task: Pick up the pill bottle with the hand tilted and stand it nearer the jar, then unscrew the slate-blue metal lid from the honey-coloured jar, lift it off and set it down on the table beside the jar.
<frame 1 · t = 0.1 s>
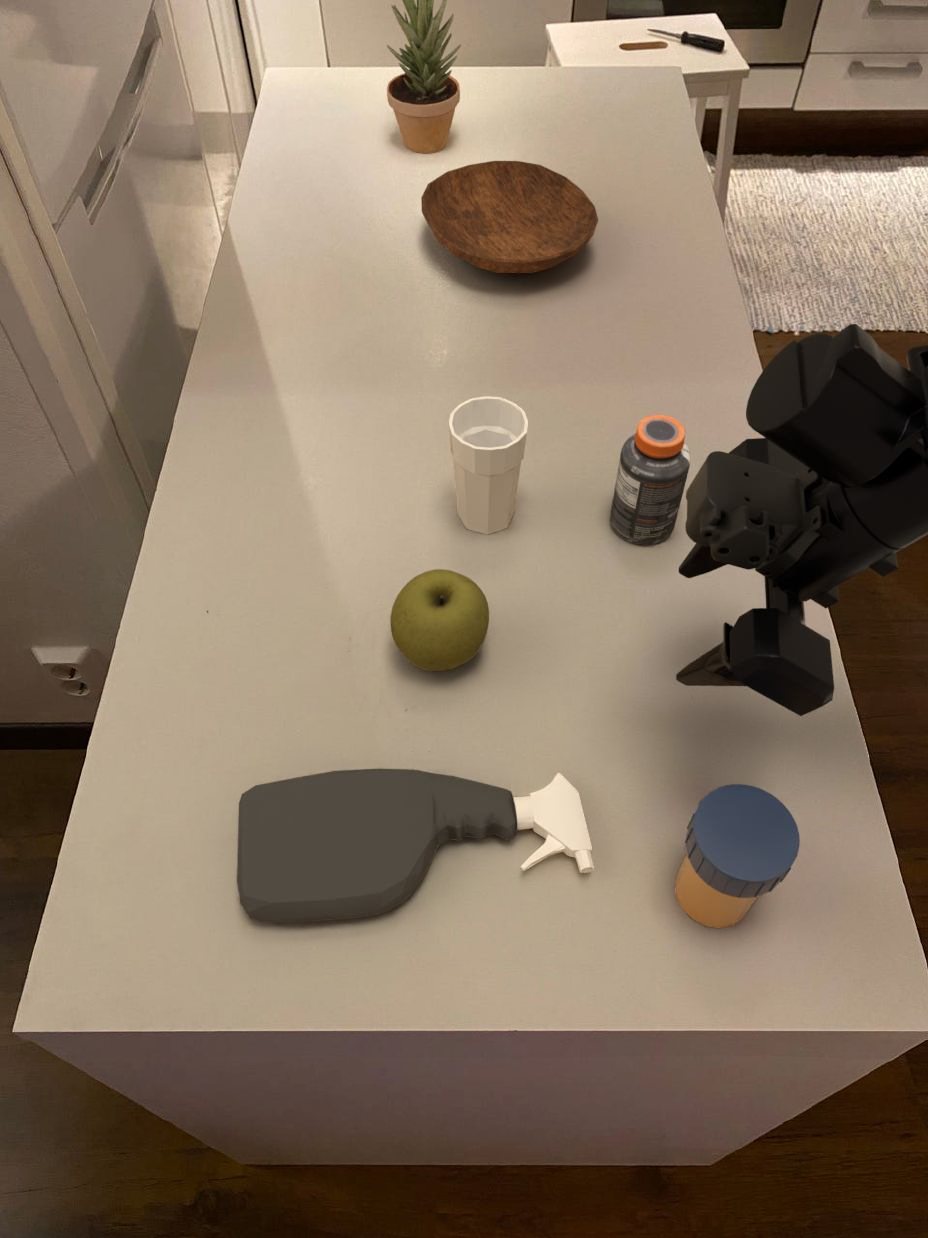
hand: (681, 625, 65), 12 cm above the counter, tool tilted 35°, fingers open, 9 cm apart
cup: (485, 514, 88), on the counter
jar lid: (745, 833, 58), point 10 cm above the counter, screwed on, not yet turned
potted plant: (426, 144, 129), on the counter
bowl: (506, 248, 114), on the counter
apple: (440, 650, 79), on the counter
jar: (712, 891, 66), on the counter
spray bottle: (415, 843, 68), on the counter
pill bottle: (641, 524, 87), on the counter
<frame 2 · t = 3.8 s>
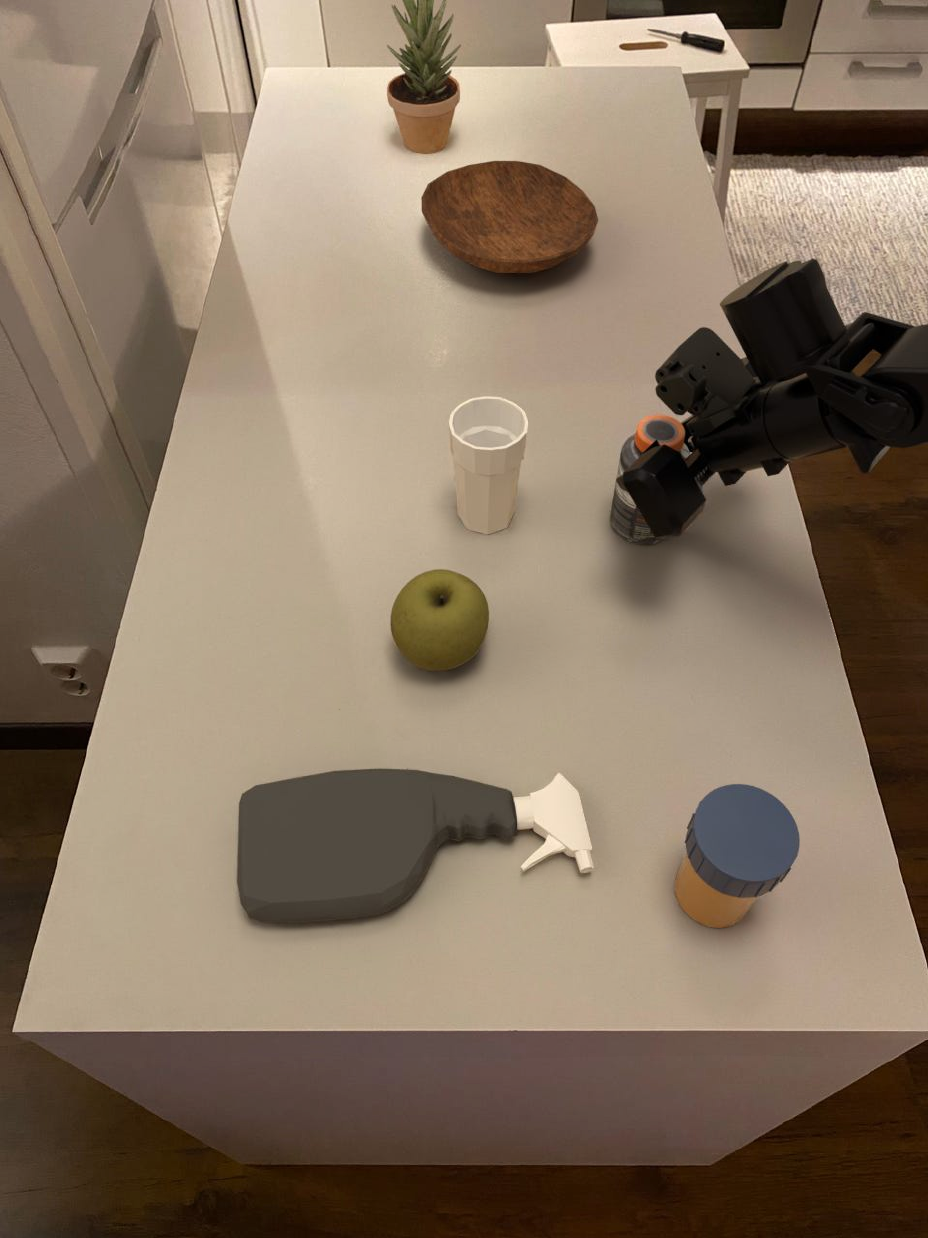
hand: (639, 463, 82), 7 cm above the counter, tool tilted 45°, fingers closed on pill bottle, 6 cm apart
pill bottle: (641, 524, 87), on the counter, touching gripper
everything else where it was.
when the fingers open (7 cm above the counter, at t = 9.2 s): pill bottle stays where it is, on the counter.
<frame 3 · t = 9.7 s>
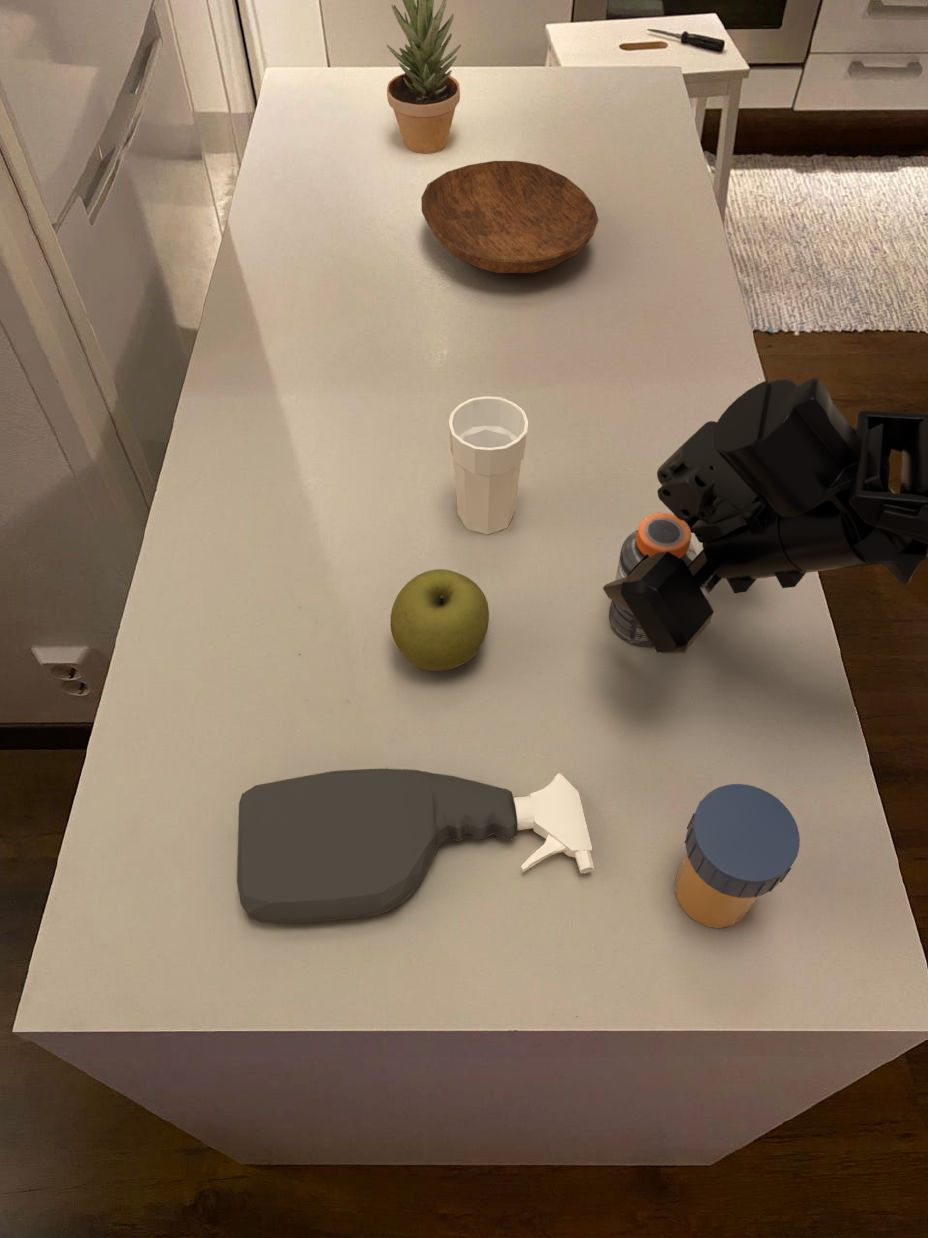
hand: (639, 556, 75), 7 cm above the counter, tool tilted 45°, fingers open, 9 cm apart
pill bottle: (642, 621, 80), on the counter
everything else where it was.
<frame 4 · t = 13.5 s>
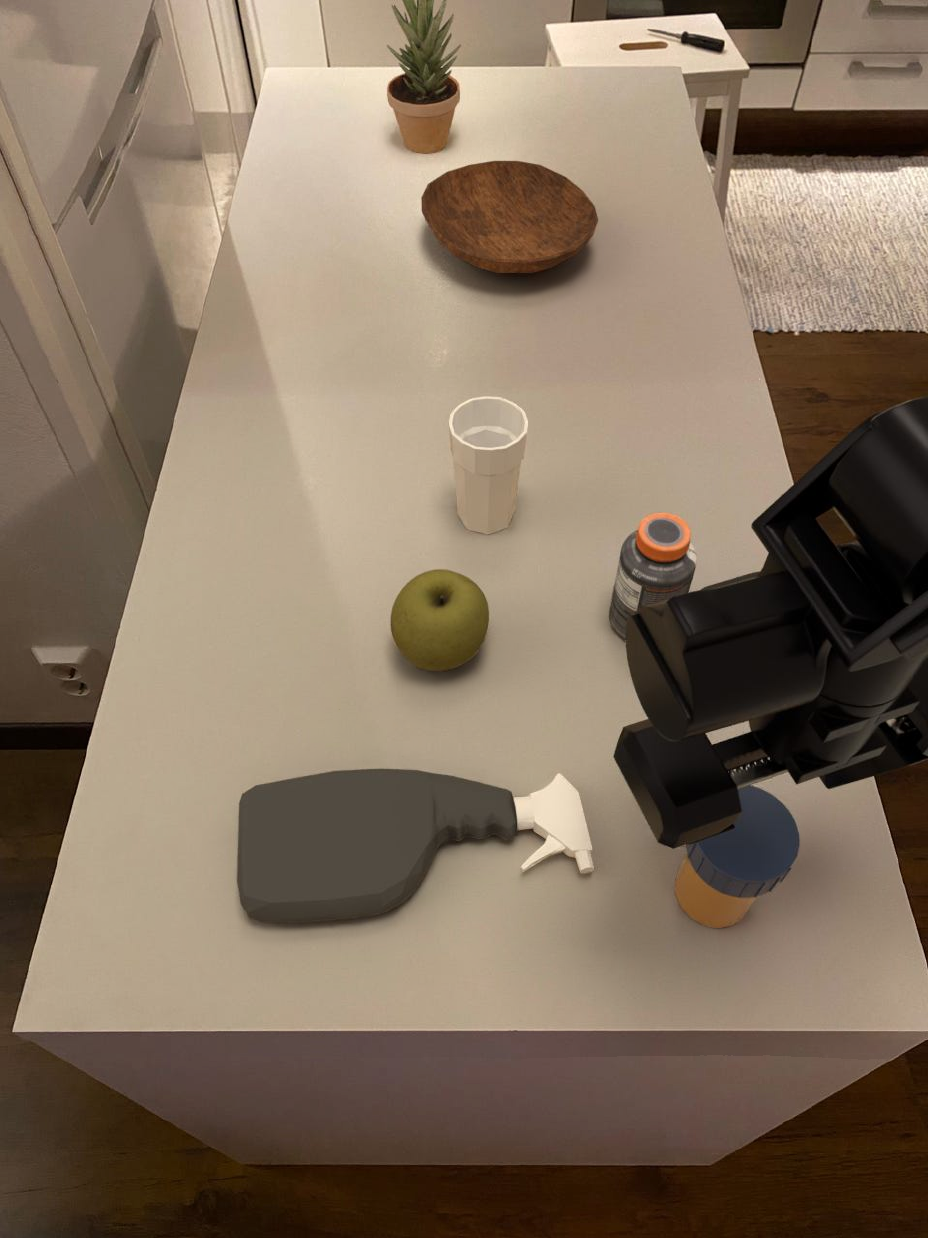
hand: (757, 805, 56), 13 cm above the counter, tool pointing down, fingers open, 9 cm apart
nothing on the counter moved.
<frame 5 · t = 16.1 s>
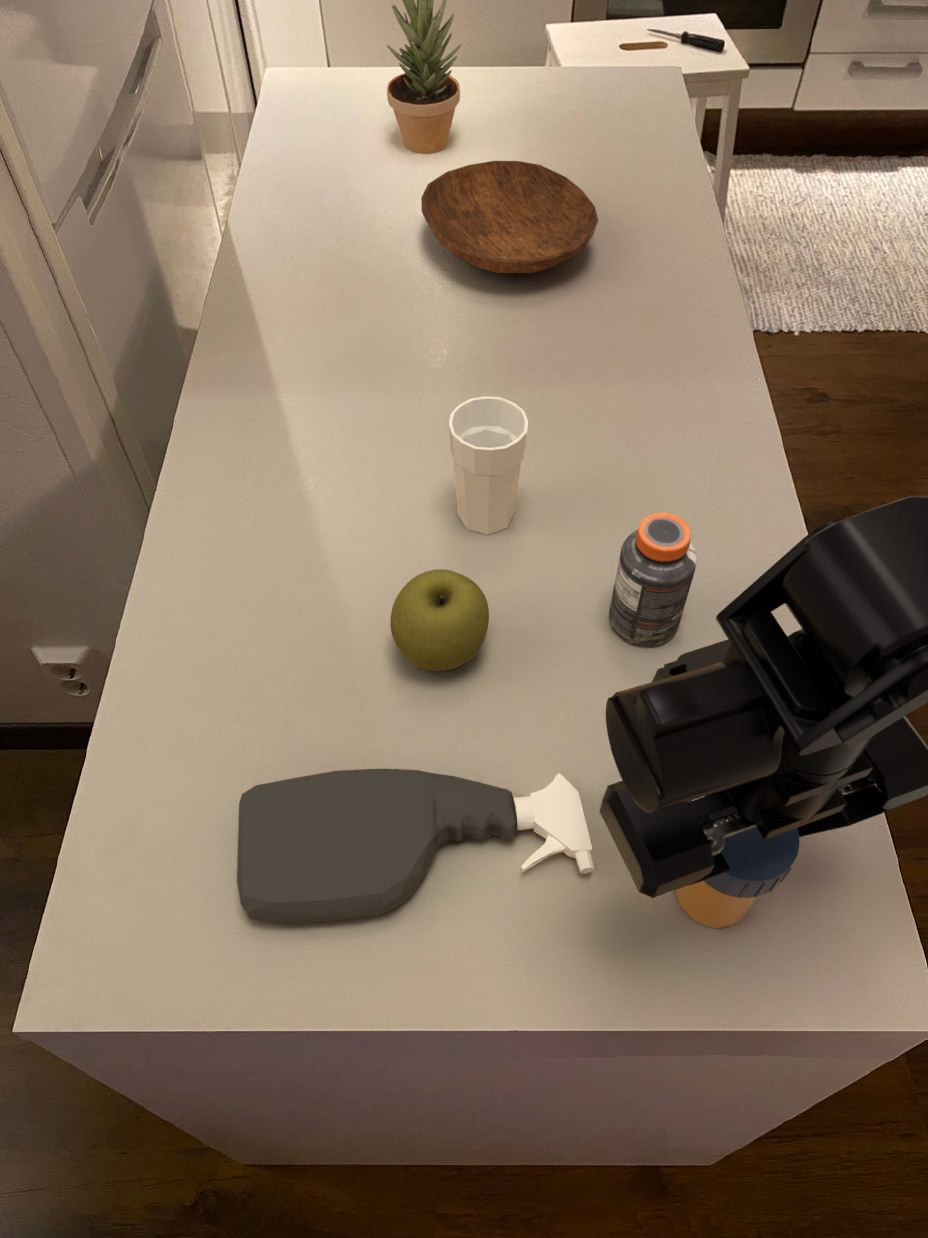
hand: (735, 849, 60), 7 cm above the counter, tool pointing down, fingers closed on jar lid, 6 cm apart
jar lid: (745, 833, 58), point 10 cm above the counter, screwed on, not yet turned, touching gripper
everything else where it was.
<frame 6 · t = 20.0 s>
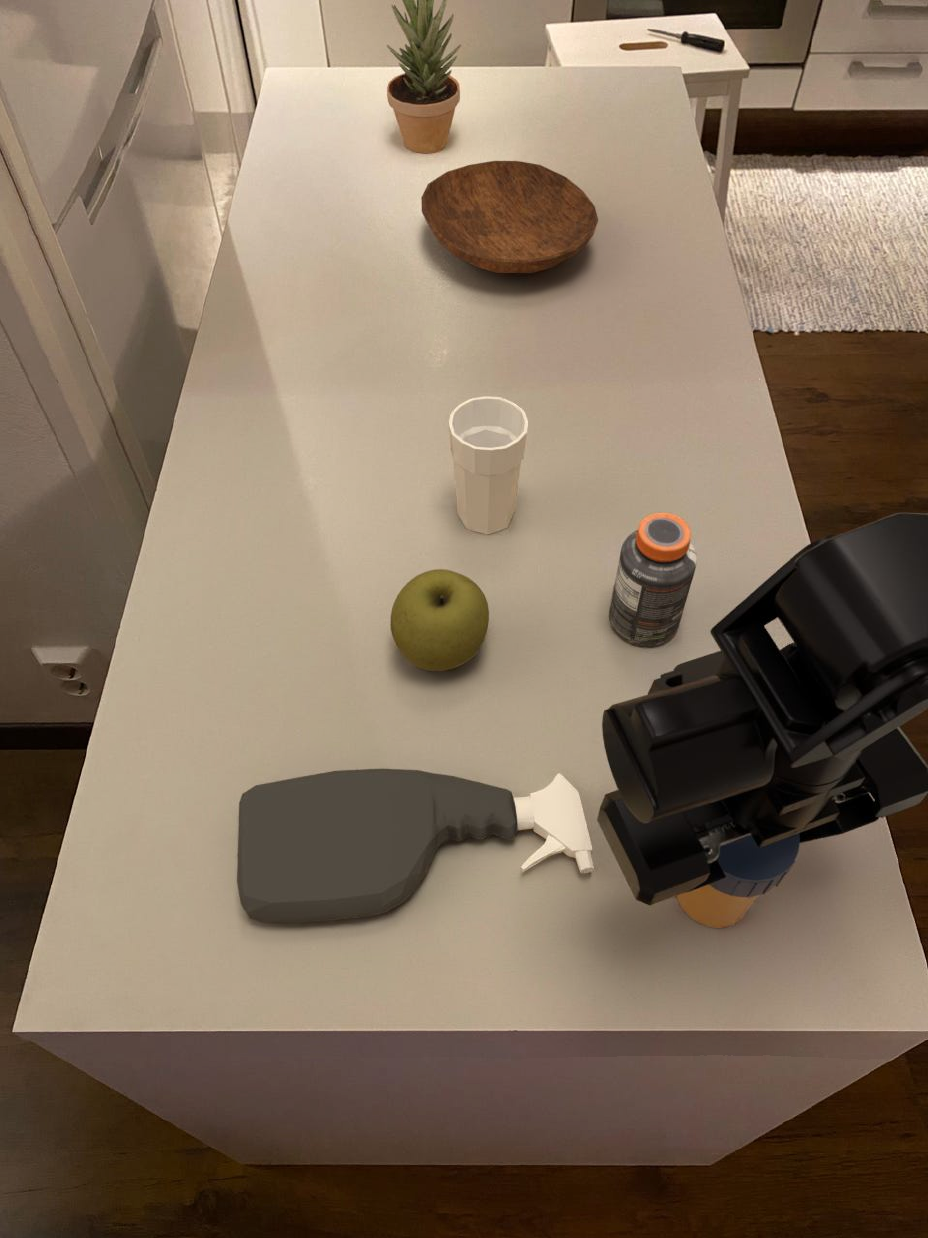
hand: (731, 856, 61), 6 cm above the counter, tool pointing down, fingers closed on jar lid, 6 cm apart
jar lid: (745, 832, 58), point 10 cm above the counter, turned 45° so far, risen 0.1 cm, still on its thread, touching gripper
everything else where it was.
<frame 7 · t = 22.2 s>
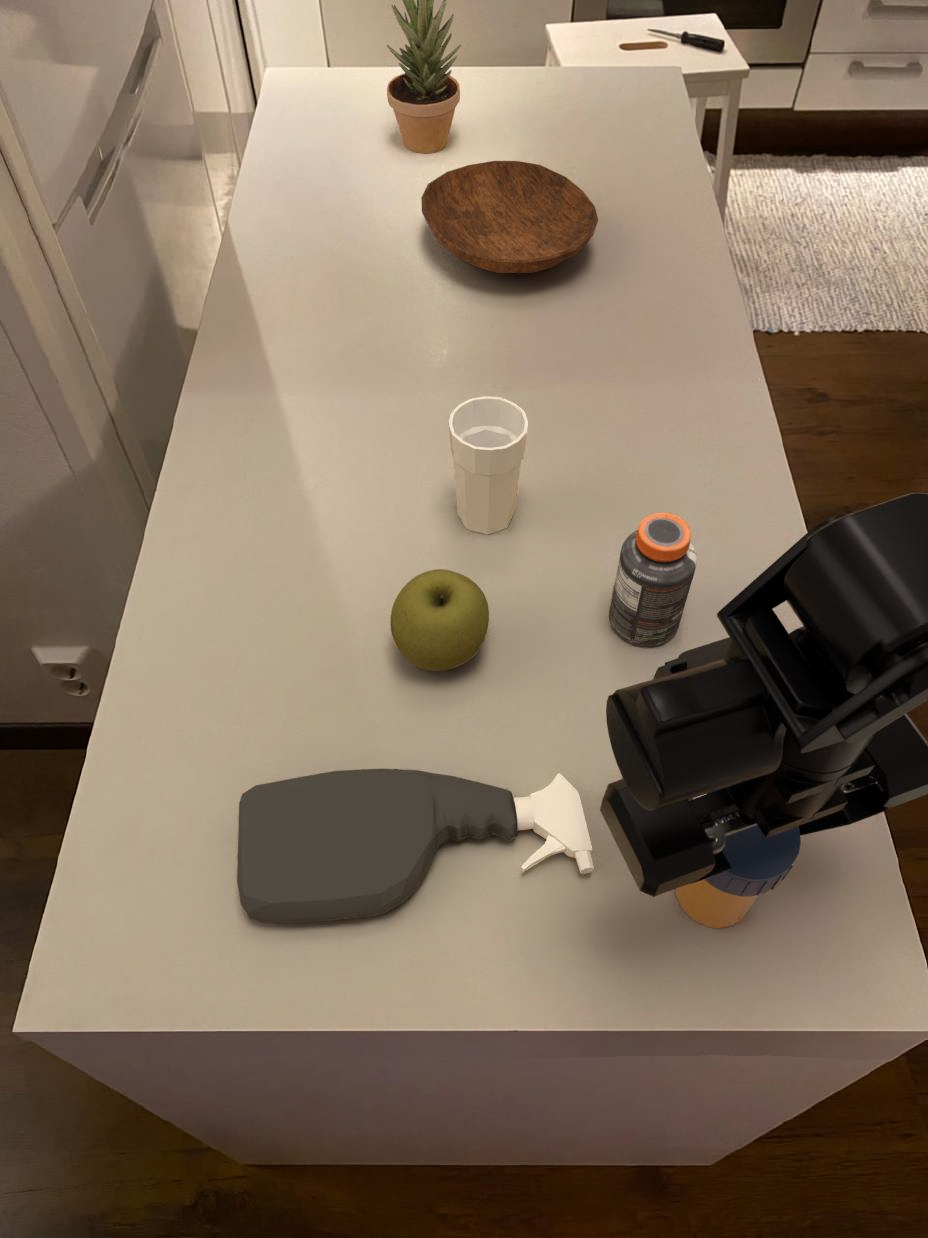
hand: (736, 848, 60), 7 cm above the counter, tool pointing down, fingers closed on jar lid, 6 cm apart
jar lid: (746, 831, 58), point 10 cm above the counter, turned 91° so far, risen 0.2 cm, still on its thread, touching gripper
everything else where it was.
when the fingers open (0 cm above the counter, at t = 30.2 s): jar lid stays where it is, point 2 cm above the counter.
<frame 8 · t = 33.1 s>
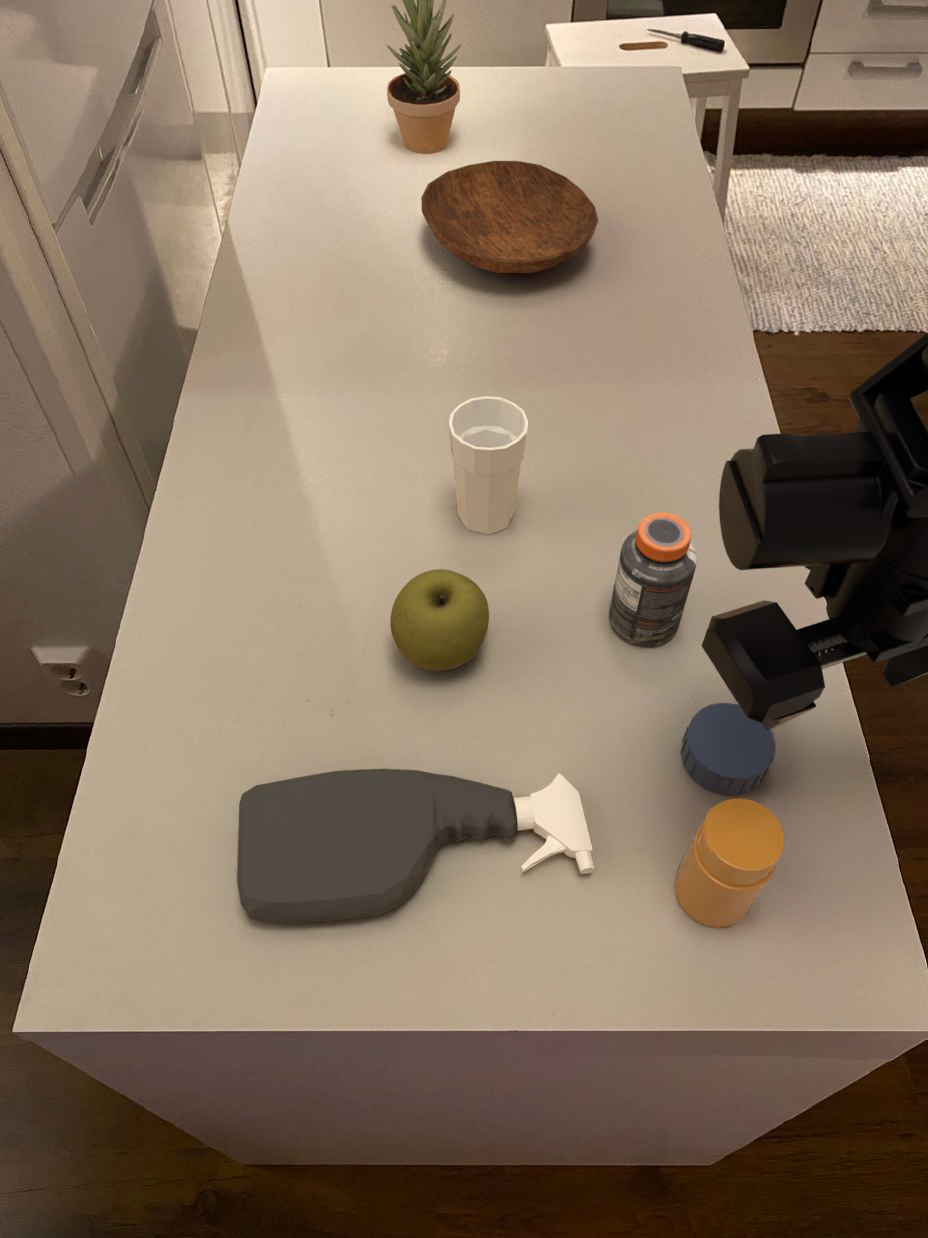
hand: (827, 701, 60), 13 cm above the counter, tool pointing down, fingers open, 9 cm apart
jar lid: (730, 741, 70), point 2 cm above the counter, off its thread
everything else where it was.
at the end: jar lid point 2.5 cm above the counter; the gripper is holding nothing; pill bottle moved 11.2 cm from its start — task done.
